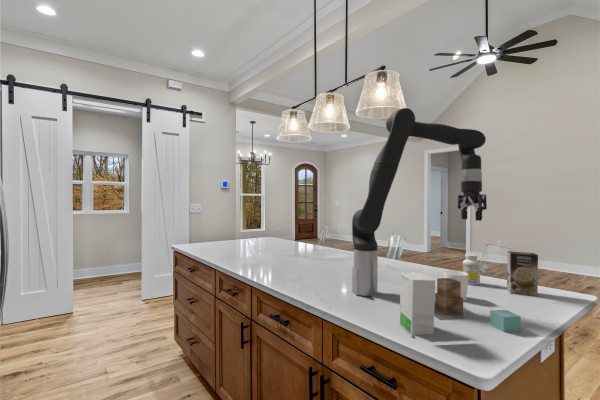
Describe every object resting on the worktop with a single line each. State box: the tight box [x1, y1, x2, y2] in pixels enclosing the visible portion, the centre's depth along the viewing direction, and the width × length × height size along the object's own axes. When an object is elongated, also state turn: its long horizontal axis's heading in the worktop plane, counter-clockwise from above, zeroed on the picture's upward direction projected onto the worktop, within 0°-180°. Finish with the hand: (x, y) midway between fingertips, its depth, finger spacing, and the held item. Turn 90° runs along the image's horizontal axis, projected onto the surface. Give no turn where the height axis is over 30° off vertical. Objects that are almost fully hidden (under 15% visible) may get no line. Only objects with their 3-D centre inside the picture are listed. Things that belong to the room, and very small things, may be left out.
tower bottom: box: [434, 292, 464, 315], centre depth 98 cm, size 6×6×5 cm
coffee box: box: [506, 250, 539, 297], centre depth 121 cm, size 9×6×16 cm
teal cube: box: [489, 309, 522, 333], centre depth 85 cm, size 5×5×5 cm
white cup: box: [444, 270, 469, 301], centre depth 112 cm, size 8×8×10 cm
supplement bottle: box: [462, 253, 481, 286], centre depth 135 cm, size 7×7×13 cm
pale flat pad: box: [434, 303, 485, 321], centre depth 98 cm, size 14×14×1 cm
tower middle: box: [436, 277, 461, 298], centre depth 98 cm, size 5×5×5 cm
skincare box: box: [398, 271, 436, 338], centre depth 84 cm, size 8×7×16 cm
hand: (471, 219), depth 124 cm, fingers open, 8 cm apart
